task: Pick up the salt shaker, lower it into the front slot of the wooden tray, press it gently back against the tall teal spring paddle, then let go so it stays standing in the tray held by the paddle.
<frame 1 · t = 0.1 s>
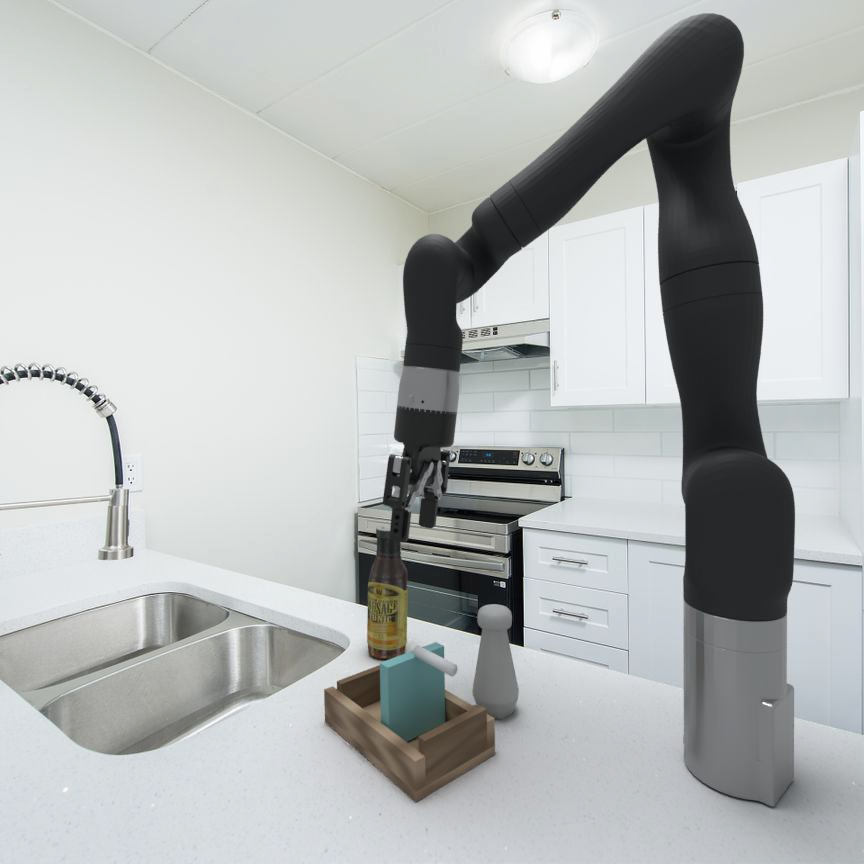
hand: (413, 533, 67), 22 cm above the countertop, tool pointing down, fingers open, 8 cm apart
salt shaker: (495, 711, 67), on the countertop
sauce bottle: (388, 653, 84), on the countertop
pusher paddle: (430, 698, 58), point 6 cm above the countertop, slide at 0.0 cm
wooden tray: (405, 737, 61), on the countertop
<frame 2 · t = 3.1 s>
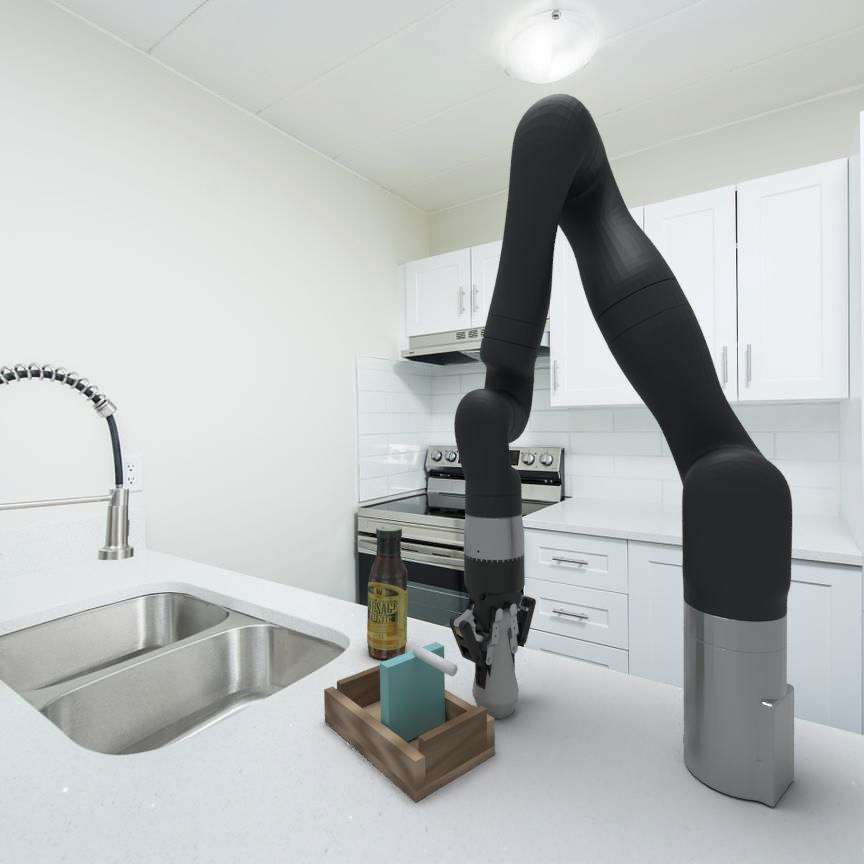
hand: (495, 685, 67), 3 cm above the countertop, tool pointing down, fingers closed on salt shaker, 3 cm apart
salt shaker: (495, 711, 67), on the countertop, touching gripper
everything else where it was.
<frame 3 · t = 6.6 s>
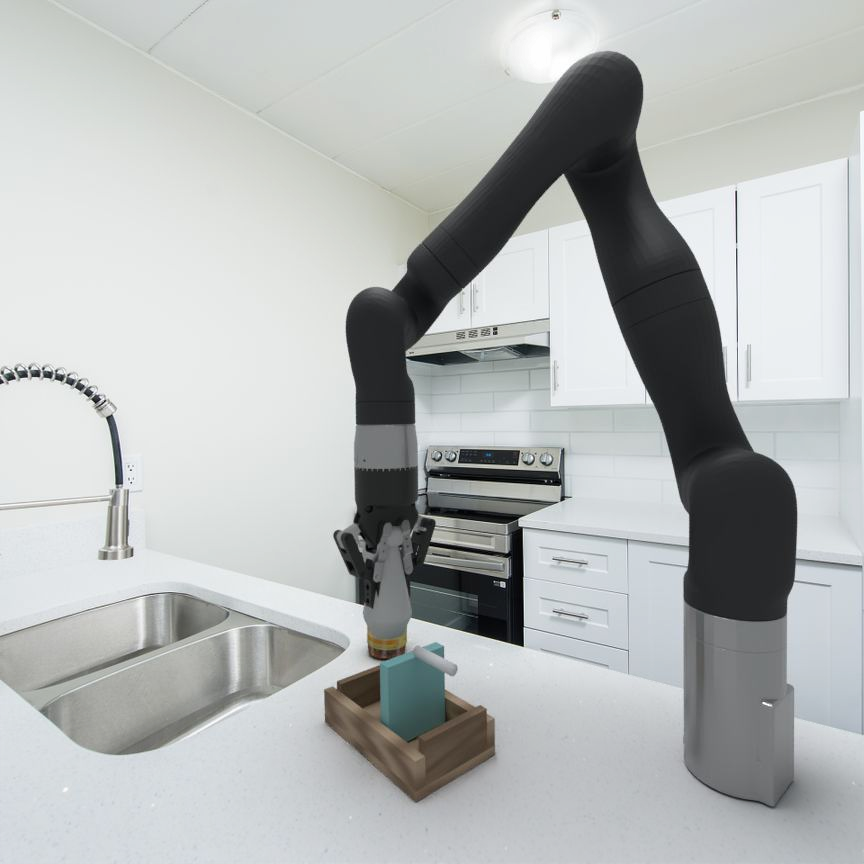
hand: (388, 606, 63), 14 cm above the countertop, tool pointing down, fingers closed on salt shaker, 3 cm apart
salt shaker: (387, 634, 63), point 11 cm above the countertop, touching gripper
everything else where it was.
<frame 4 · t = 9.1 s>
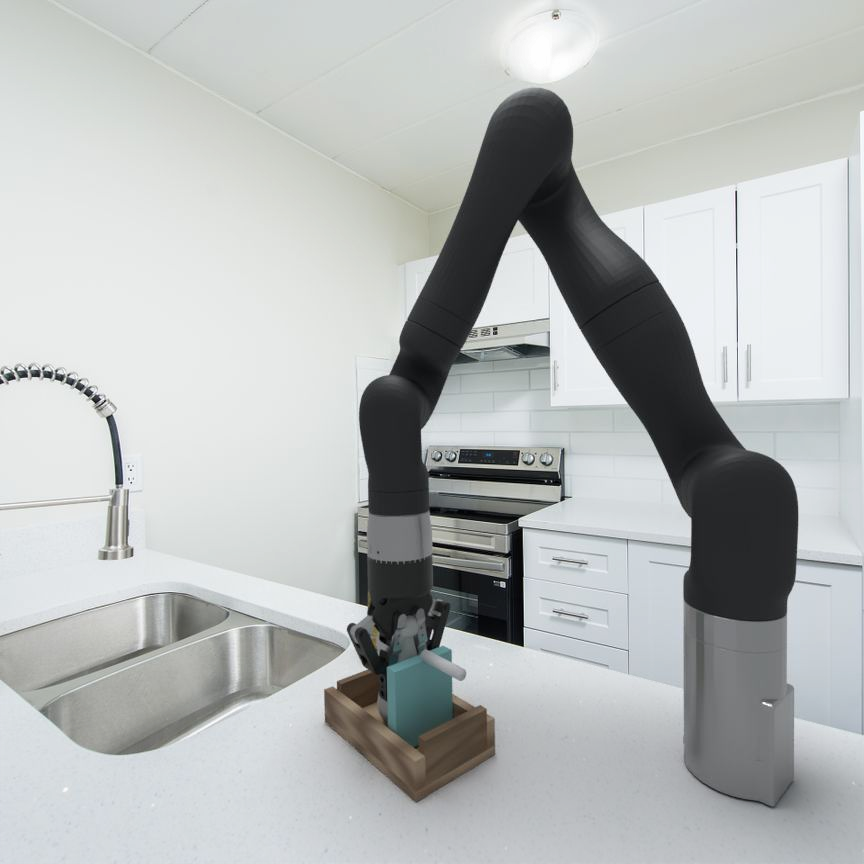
hand: (403, 696, 62), 5 cm above the countertop, tool pointing down, fingers closed on salt shaker, 3 cm apart
salt shaker: (402, 725, 62), point 1 cm above the countertop, touching gripper, pusher paddle
pusher paddle: (438, 703, 57), point 6 cm above the countertop, slide at 1.3 cm, touching salt shaker
everything else where it was.
when the fingers open (5 cm above the countertop, at t = 10.1 s): salt shaker stays where it is, resting on wooden tray, pusher paddle.
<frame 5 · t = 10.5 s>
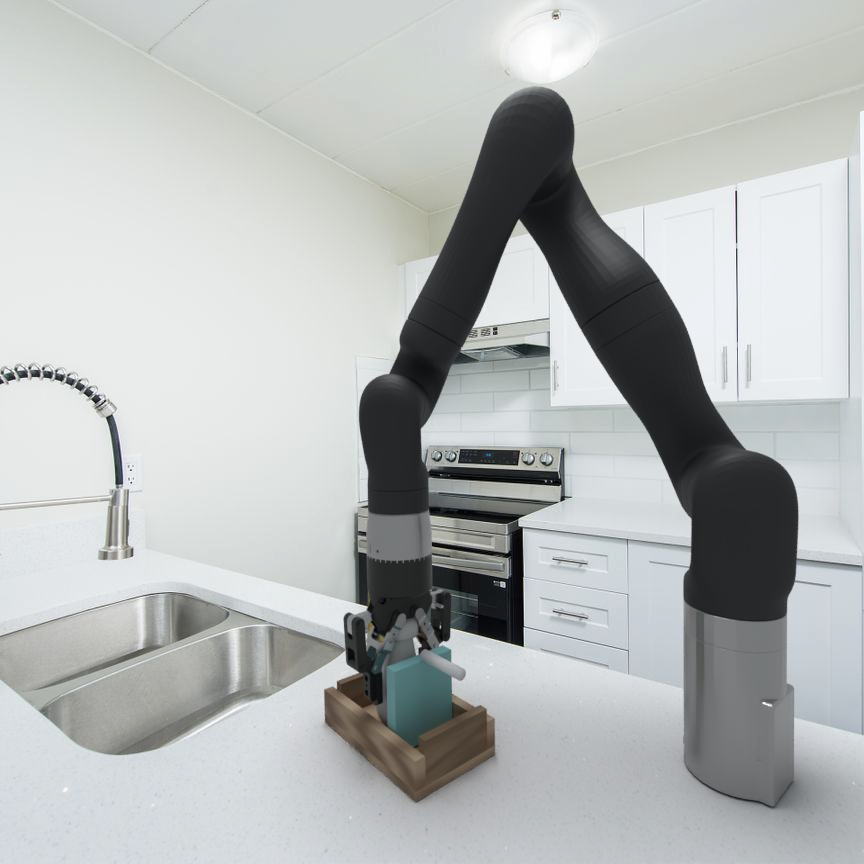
hand: (401, 690, 62), 5 cm above the countertop, tool pointing down, fingers open, 7 cm apart
salt shaker: (401, 727, 62), point 1 cm above the countertop, touching wooden tray, pusher paddle
everything else where it was.
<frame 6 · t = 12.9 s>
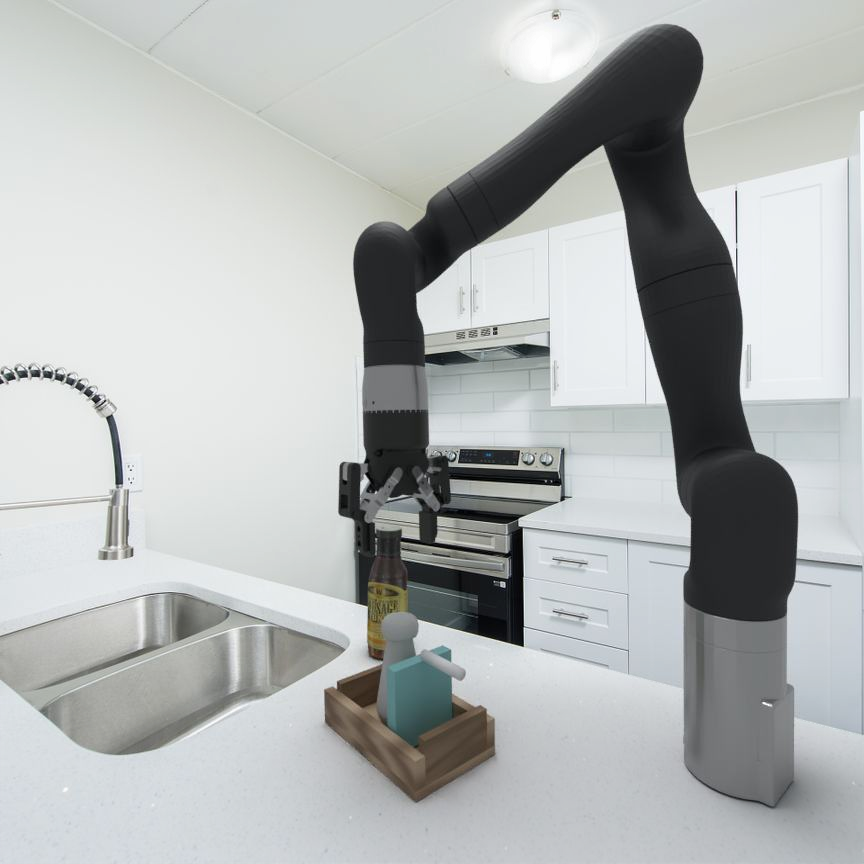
hand: (399, 548, 61), 22 cm above the countertop, tool pointing down, fingers open, 8 cm apart
nothing on the countertop moved.
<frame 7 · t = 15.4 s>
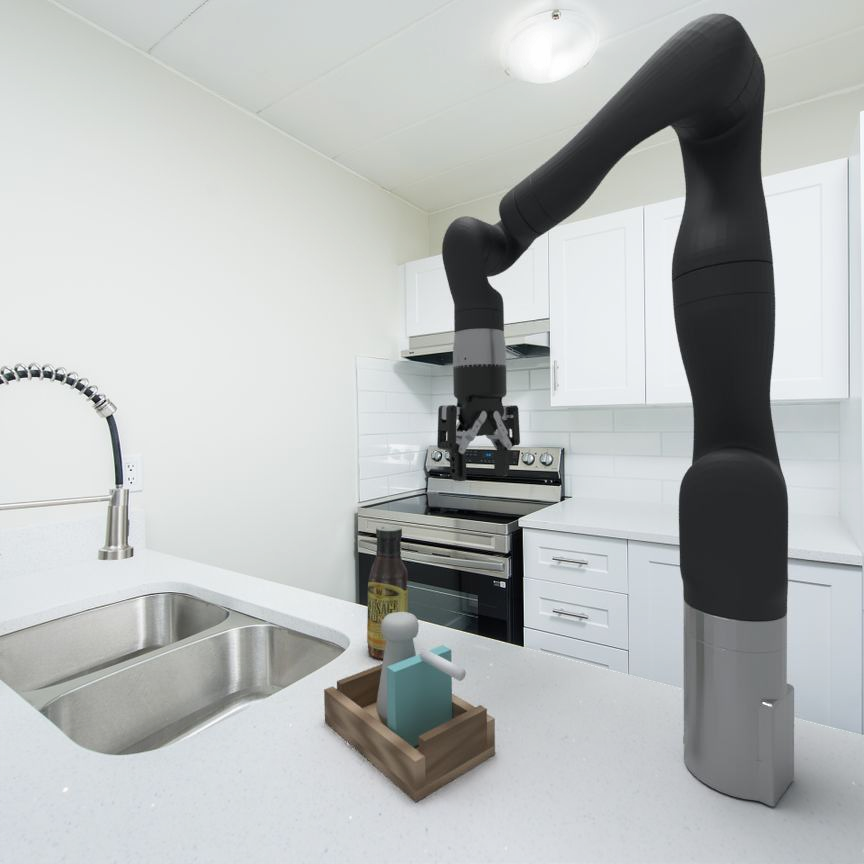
hand: (481, 478, 76), 28 cm above the countertop, tool pointing down, fingers open, 8 cm apart
nothing on the countertop moved.
at the end: salt shaker 1.8 cm from the target spot on the wooden tray, point 0.8 cm above the wooden tray's base; salt shaker tilted 0°; pusher paddle slide at 1.2 cm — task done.
